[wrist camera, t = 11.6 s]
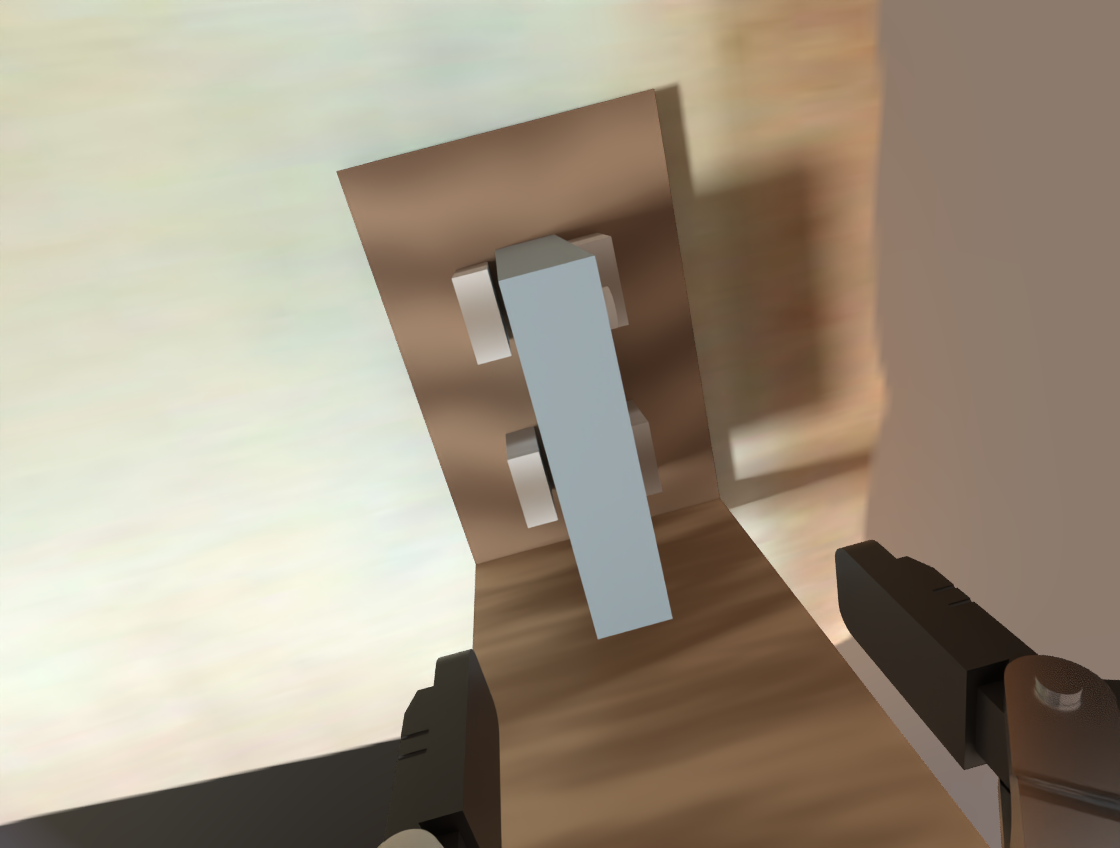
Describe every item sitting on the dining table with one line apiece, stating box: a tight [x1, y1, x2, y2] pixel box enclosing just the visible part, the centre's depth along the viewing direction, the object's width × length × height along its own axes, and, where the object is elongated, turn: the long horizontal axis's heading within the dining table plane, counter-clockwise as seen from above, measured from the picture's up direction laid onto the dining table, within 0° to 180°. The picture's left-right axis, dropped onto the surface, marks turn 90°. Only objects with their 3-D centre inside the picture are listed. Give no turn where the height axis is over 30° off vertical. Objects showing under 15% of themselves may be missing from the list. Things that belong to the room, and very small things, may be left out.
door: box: [495, 234, 673, 639], centre depth 26 cm, size 14×4×12 cm, turn 14°
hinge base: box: [336, 89, 990, 848], centre depth 22 cm, size 24×15×24 cm, turn 14°
